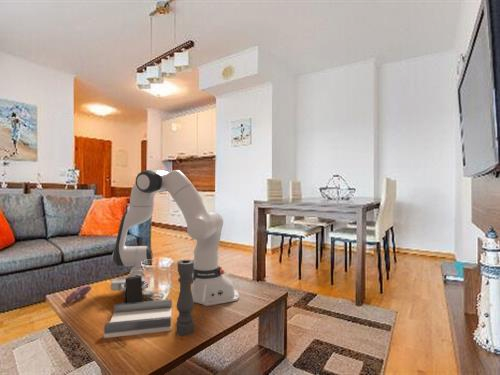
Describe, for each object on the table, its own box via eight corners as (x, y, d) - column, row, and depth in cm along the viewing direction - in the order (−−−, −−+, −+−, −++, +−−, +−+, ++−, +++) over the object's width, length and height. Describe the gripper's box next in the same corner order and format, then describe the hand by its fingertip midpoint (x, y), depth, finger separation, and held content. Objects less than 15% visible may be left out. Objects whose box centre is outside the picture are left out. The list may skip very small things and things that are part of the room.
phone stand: (143, 306, 121) (143, 278, 120) (128, 310, 117) (128, 281, 117) (138, 299, 128) (138, 273, 128) (124, 302, 125) (124, 275, 125)
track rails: (171, 306, 119) (171, 299, 119) (170, 326, 103) (170, 318, 103) (114, 311, 114) (114, 304, 114) (104, 333, 98) (104, 324, 97)
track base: (171, 307, 120) (171, 305, 120) (170, 330, 102) (170, 327, 102) (115, 312, 115) (115, 310, 115) (103, 338, 97) (103, 335, 97)
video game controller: (71, 307, 123) (78, 293, 122) (63, 301, 124) (69, 287, 123) (88, 298, 133) (94, 285, 132) (81, 292, 133) (86, 280, 133)
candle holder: (177, 337, 98) (178, 265, 97) (174, 328, 103) (175, 260, 103) (195, 333, 100) (196, 263, 100) (191, 325, 106) (192, 258, 105)
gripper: (113, 273, 132) (106, 283, 119) (159, 270, 138) (158, 280, 124) (113, 286, 133) (106, 298, 119) (159, 283, 138) (157, 294, 124)
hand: (133, 289), depth 122 cm, fingers closed on phone stand, 6 cm apart
